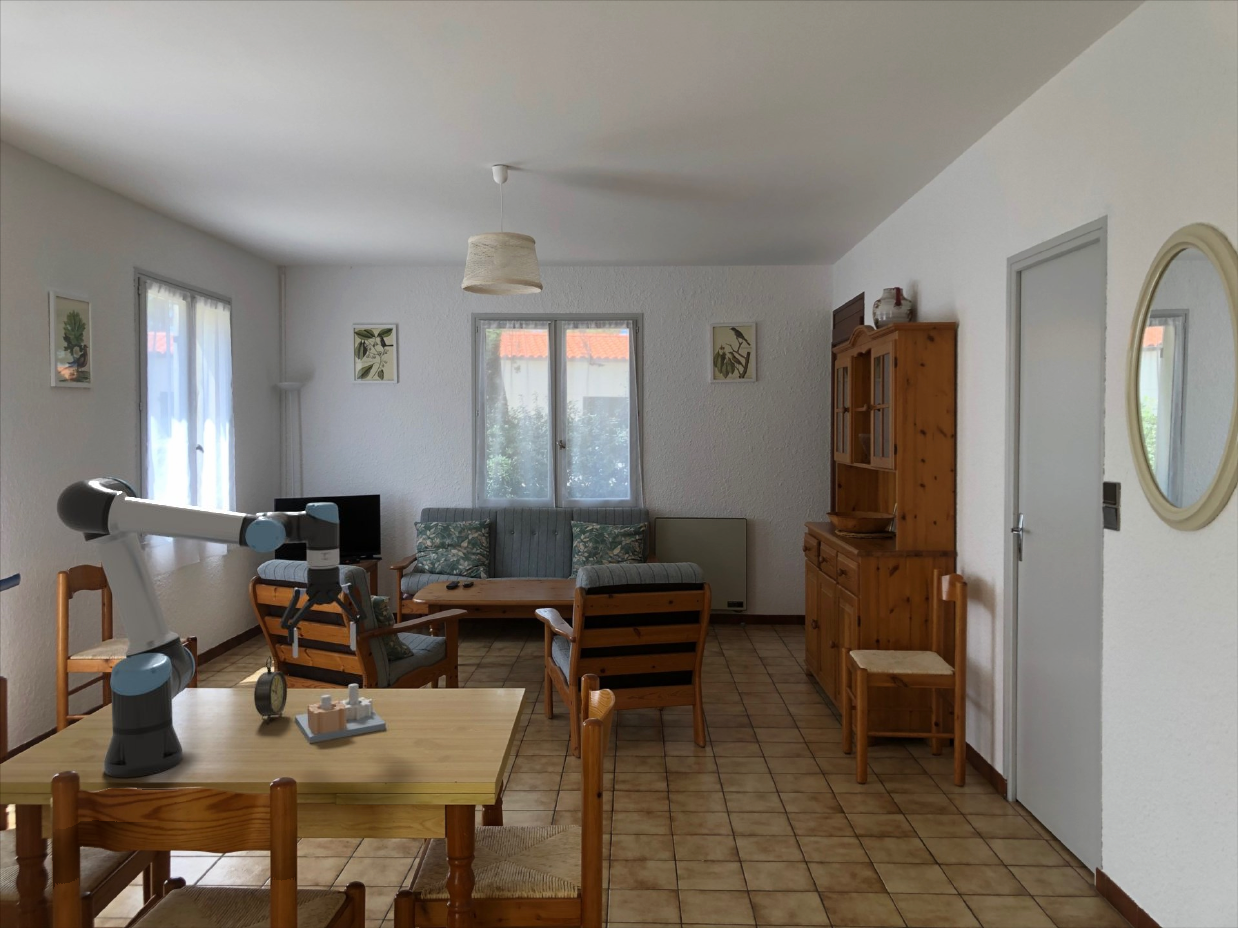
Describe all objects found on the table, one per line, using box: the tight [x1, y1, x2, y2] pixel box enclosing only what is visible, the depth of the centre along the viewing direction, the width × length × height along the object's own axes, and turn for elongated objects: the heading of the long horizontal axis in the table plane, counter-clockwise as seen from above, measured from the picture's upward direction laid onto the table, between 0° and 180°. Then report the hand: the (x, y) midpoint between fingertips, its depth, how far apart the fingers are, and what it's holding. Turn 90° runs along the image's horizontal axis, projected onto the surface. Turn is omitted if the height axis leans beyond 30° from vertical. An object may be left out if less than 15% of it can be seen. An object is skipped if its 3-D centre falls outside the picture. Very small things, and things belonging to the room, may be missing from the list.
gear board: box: [294, 683, 387, 744], centre depth 214 cm, size 18×18×9 cm
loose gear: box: [307, 700, 347, 734], centre depth 209 cm, size 8×8×5 cm
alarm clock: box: [253, 655, 288, 725], centre depth 220 cm, size 11×5×16 cm, turn 0°
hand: (324, 652), depth 209 cm, fingers open, 13 cm apart
